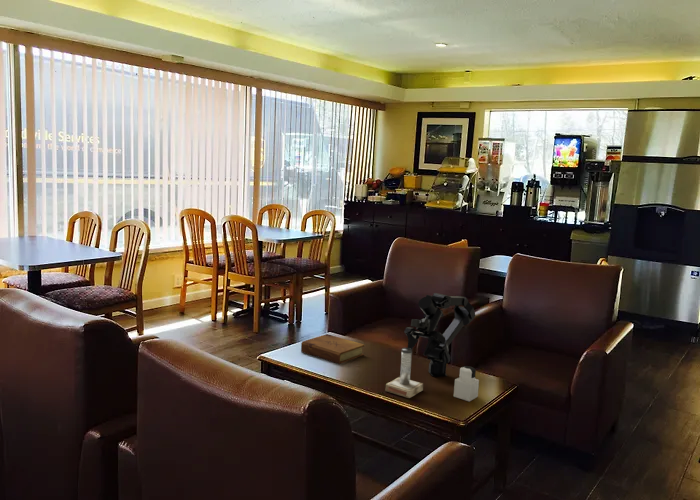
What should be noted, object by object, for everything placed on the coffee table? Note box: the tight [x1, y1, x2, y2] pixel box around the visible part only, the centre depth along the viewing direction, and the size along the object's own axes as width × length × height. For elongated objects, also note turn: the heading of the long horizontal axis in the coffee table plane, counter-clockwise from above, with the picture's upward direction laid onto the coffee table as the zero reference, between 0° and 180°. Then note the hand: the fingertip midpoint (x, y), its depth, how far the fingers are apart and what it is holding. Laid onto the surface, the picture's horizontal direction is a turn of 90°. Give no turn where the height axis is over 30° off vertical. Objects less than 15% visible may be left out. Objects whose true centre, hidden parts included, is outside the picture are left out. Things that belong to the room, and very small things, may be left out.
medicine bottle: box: [453, 365, 480, 402], centre depth 226 cm, size 7×7×12 cm
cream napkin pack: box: [384, 376, 424, 399], centre depth 229 cm, size 11×11×3 cm
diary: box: [300, 333, 365, 365], centre depth 270 cm, size 23×19×6 cm
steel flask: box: [399, 347, 413, 385], centre depth 228 cm, size 4×4×14 cm
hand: (416, 353), depth 235 cm, fingers open, 9 cm apart
